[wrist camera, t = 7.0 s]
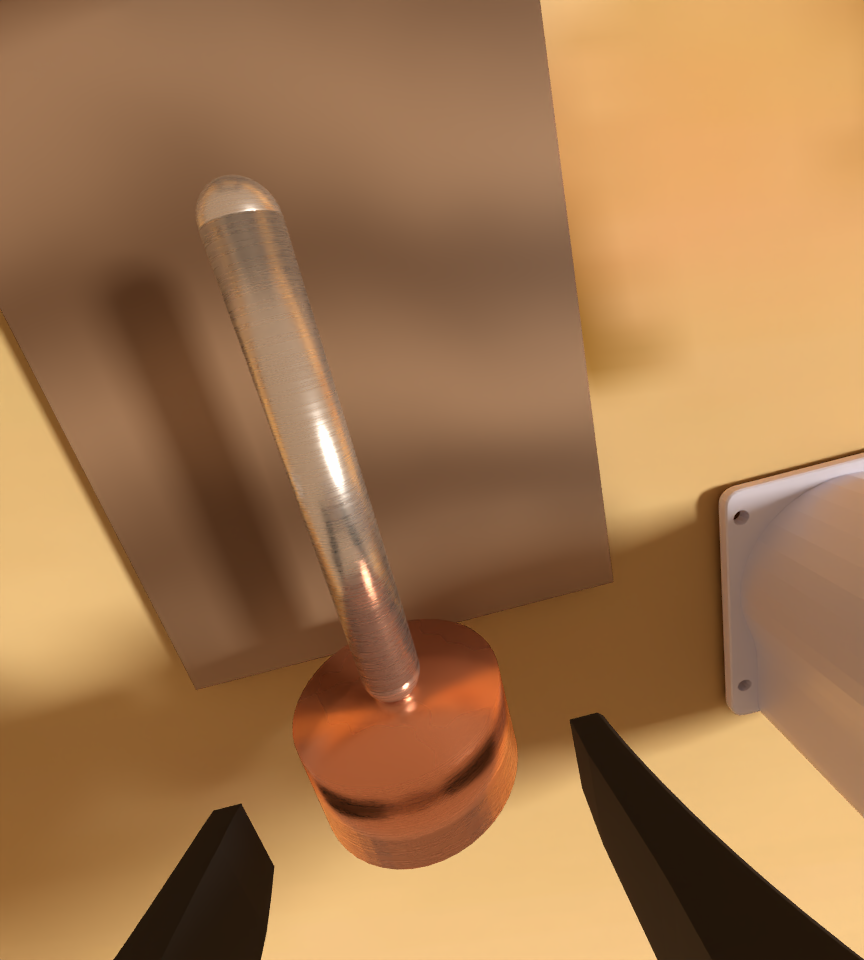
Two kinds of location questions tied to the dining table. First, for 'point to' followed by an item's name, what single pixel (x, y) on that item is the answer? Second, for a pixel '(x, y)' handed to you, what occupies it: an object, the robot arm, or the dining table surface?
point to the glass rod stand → (359, 587)
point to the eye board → (330, 289)
